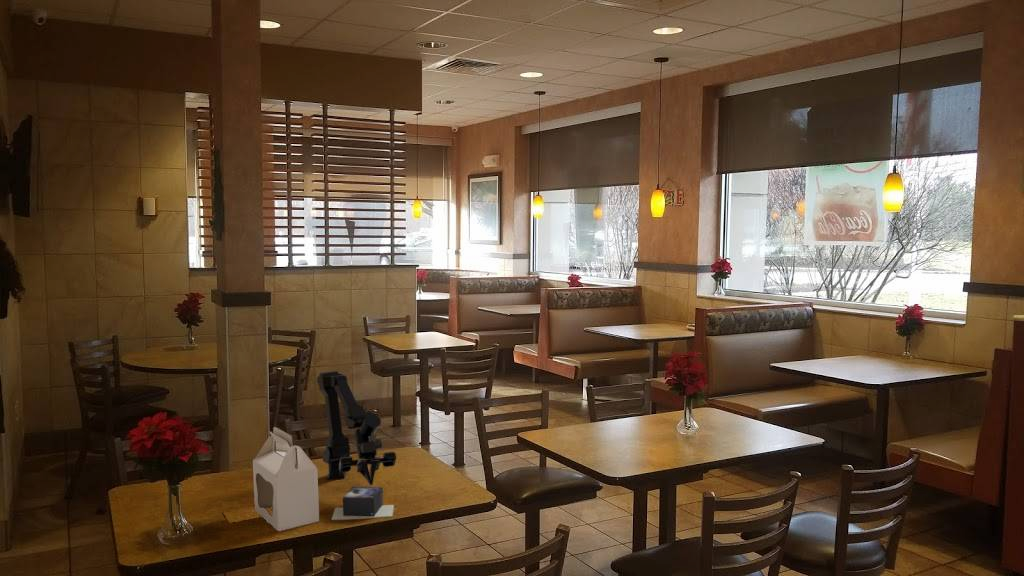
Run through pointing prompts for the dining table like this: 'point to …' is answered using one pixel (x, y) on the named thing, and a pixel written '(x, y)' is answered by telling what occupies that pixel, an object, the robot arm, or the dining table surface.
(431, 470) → the dining table surface
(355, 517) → the mat
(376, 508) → the small box
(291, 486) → the gable box
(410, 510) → the dining table surface
